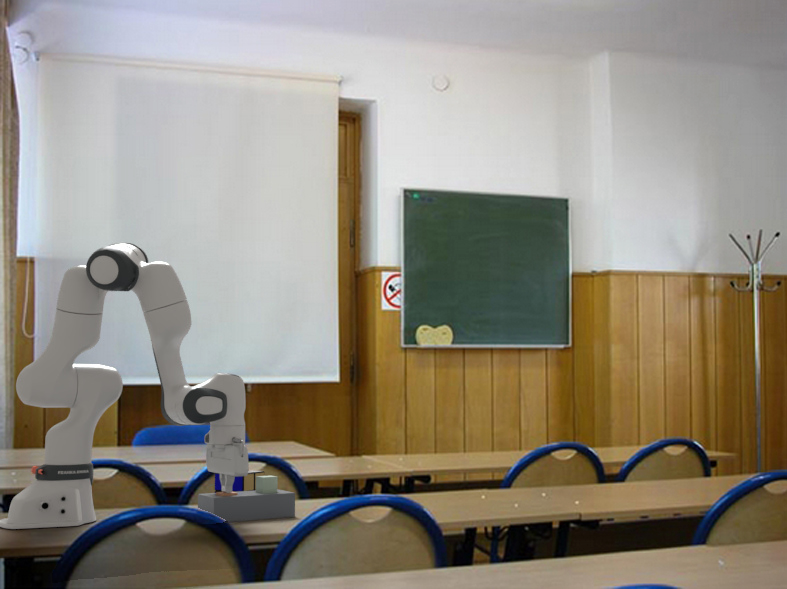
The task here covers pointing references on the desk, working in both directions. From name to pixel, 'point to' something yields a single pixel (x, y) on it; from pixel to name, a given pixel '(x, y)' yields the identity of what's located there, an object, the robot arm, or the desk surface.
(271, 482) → the pale green block
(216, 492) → the salmon orange block
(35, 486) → the robot arm
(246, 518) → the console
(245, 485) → the puzzle cube
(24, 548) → the desk surface
